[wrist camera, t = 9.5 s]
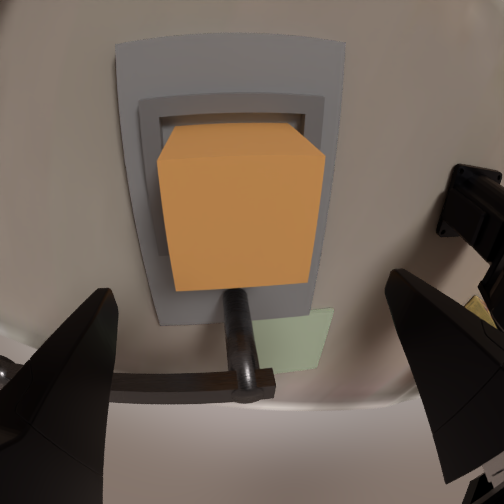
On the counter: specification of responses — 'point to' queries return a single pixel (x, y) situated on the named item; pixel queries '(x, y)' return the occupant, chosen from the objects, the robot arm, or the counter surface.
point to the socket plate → (213, 112)
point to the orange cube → (239, 204)
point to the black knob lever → (197, 384)
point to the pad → (292, 341)
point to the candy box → (480, 309)
